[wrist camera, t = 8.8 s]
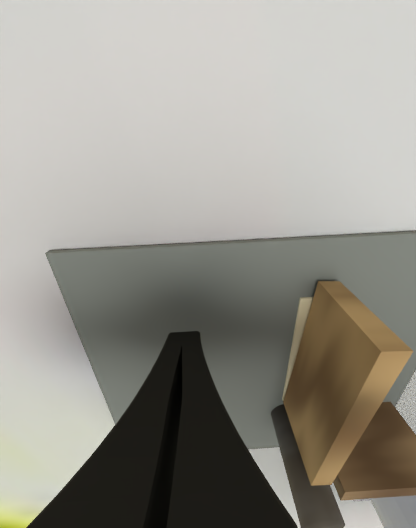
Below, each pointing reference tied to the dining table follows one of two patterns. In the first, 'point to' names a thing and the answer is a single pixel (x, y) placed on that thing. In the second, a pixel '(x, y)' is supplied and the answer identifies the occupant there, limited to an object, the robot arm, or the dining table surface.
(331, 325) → the fence panel
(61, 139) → the dining table surface
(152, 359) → the card
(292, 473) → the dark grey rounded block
